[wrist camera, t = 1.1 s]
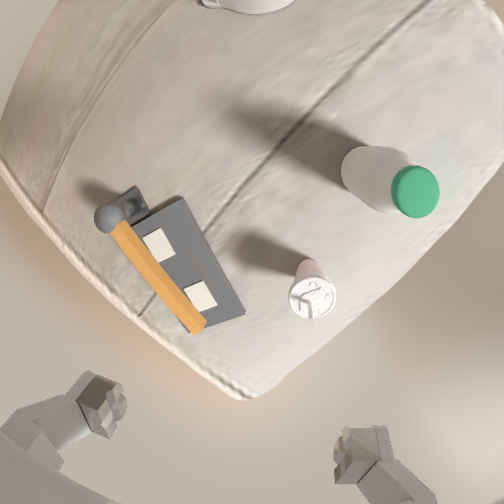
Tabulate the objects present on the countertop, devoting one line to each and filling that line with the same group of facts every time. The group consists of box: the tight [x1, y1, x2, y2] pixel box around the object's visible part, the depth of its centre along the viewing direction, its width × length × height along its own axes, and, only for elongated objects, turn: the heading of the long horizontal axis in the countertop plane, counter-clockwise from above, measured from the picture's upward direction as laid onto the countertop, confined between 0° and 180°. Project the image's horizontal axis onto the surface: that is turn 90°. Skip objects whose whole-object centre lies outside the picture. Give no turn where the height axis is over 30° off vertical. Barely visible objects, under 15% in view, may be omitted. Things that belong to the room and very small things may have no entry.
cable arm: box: [94, 202, 207, 335], centre depth 42 cm, size 24×4×3 cm, turn 36°
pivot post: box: [116, 187, 151, 225], centre depth 44 cm, size 5×5×6 cm
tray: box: [132, 198, 246, 333], centre depth 49 cm, size 22×12×2 cm, turn 26°
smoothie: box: [288, 259, 336, 322], centre depth 40 cm, size 6×6×14 cm
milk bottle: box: [341, 146, 440, 218], centre depth 31 cm, size 8×8×20 cm
